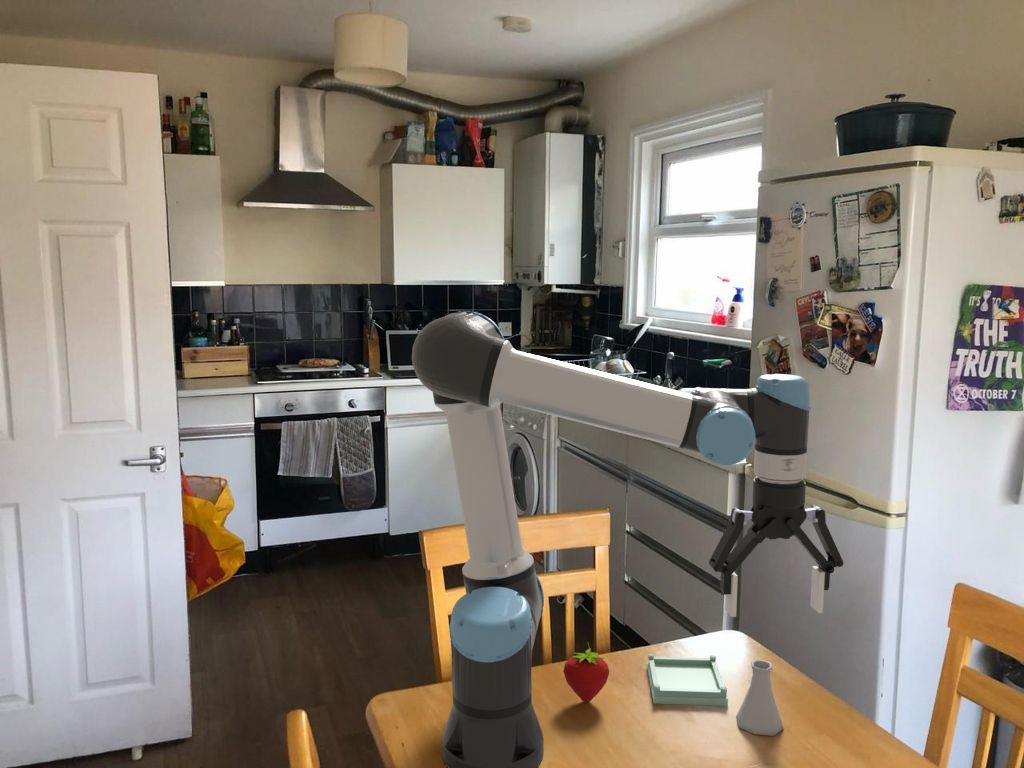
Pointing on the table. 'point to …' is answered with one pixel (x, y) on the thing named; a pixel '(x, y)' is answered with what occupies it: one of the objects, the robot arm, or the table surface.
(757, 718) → the flask
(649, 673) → the base board
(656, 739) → the table surface
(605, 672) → the strawberry
